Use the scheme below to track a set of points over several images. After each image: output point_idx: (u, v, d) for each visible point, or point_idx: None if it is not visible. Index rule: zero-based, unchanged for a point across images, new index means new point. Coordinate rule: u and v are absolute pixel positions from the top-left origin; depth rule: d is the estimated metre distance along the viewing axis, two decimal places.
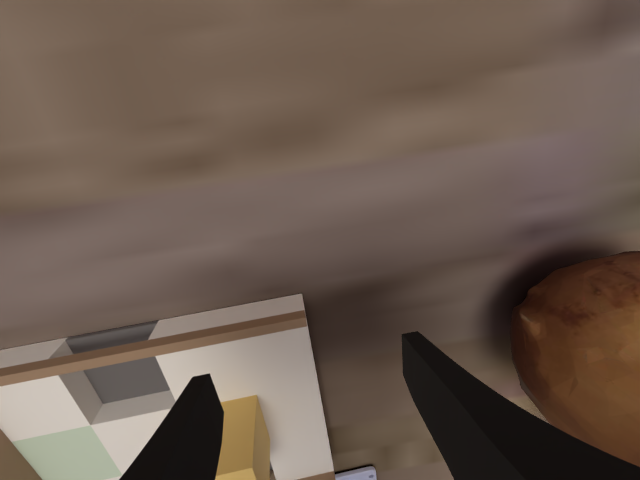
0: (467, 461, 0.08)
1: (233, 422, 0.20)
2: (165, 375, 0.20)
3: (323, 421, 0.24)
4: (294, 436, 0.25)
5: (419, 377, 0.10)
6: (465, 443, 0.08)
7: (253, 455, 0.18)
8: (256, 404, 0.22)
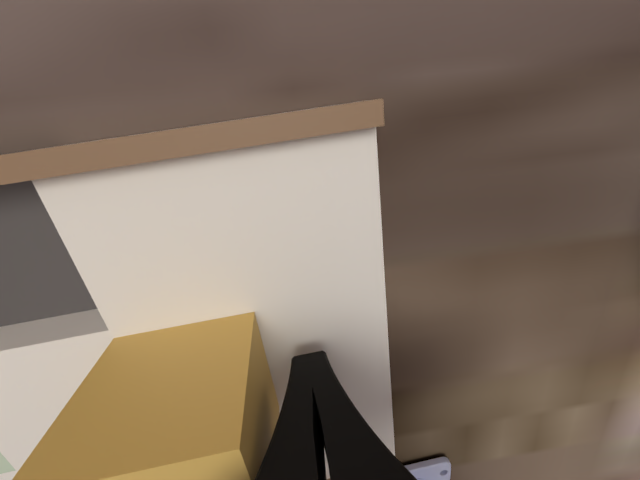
0: None
1: (203, 355, 0.09)
2: (72, 252, 0.10)
3: (387, 371, 0.13)
4: None
5: None
6: None
7: (244, 420, 0.07)
8: (253, 327, 0.11)
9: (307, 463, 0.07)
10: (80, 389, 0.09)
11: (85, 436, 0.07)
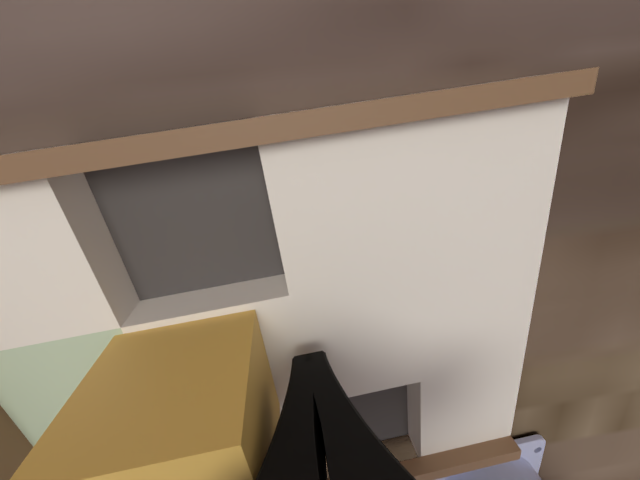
0: None
1: (204, 353, 0.09)
2: (276, 217, 0.10)
3: (524, 341, 0.14)
4: (470, 370, 0.14)
5: None
6: None
7: (245, 417, 0.07)
8: (254, 324, 0.11)
9: (308, 461, 0.07)
10: (81, 386, 0.09)
11: (86, 433, 0.07)
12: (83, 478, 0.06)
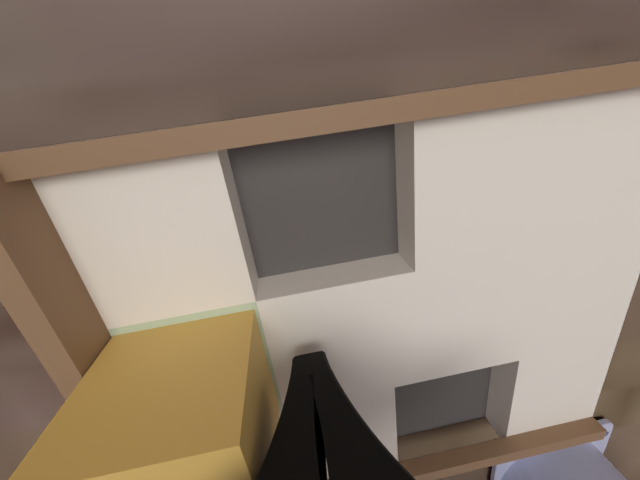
0: None
1: (203, 353, 0.09)
2: (417, 193, 0.10)
3: (621, 321, 0.14)
4: (566, 349, 0.14)
5: None
6: None
7: (244, 417, 0.07)
8: (253, 324, 0.11)
9: (308, 462, 0.07)
10: (79, 387, 0.09)
11: (84, 433, 0.07)
12: (81, 479, 0.06)
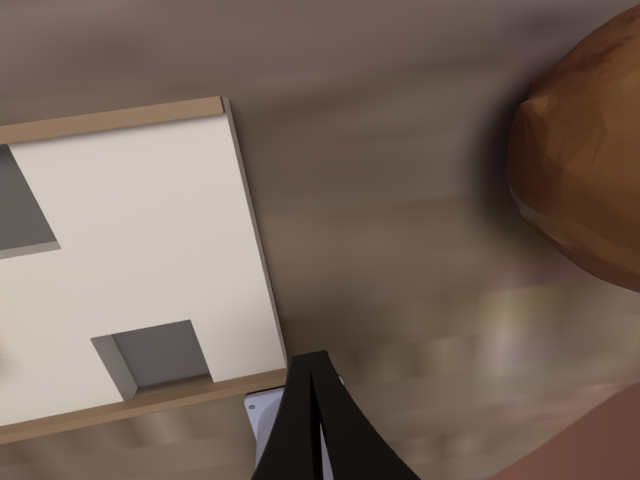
0: None
1: None
2: (35, 193, 0.15)
3: (265, 289, 0.19)
4: (229, 311, 0.19)
5: (316, 399, 0.10)
6: None
7: None
8: None
9: (304, 463, 0.07)
10: None
11: None
12: None
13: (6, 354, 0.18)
